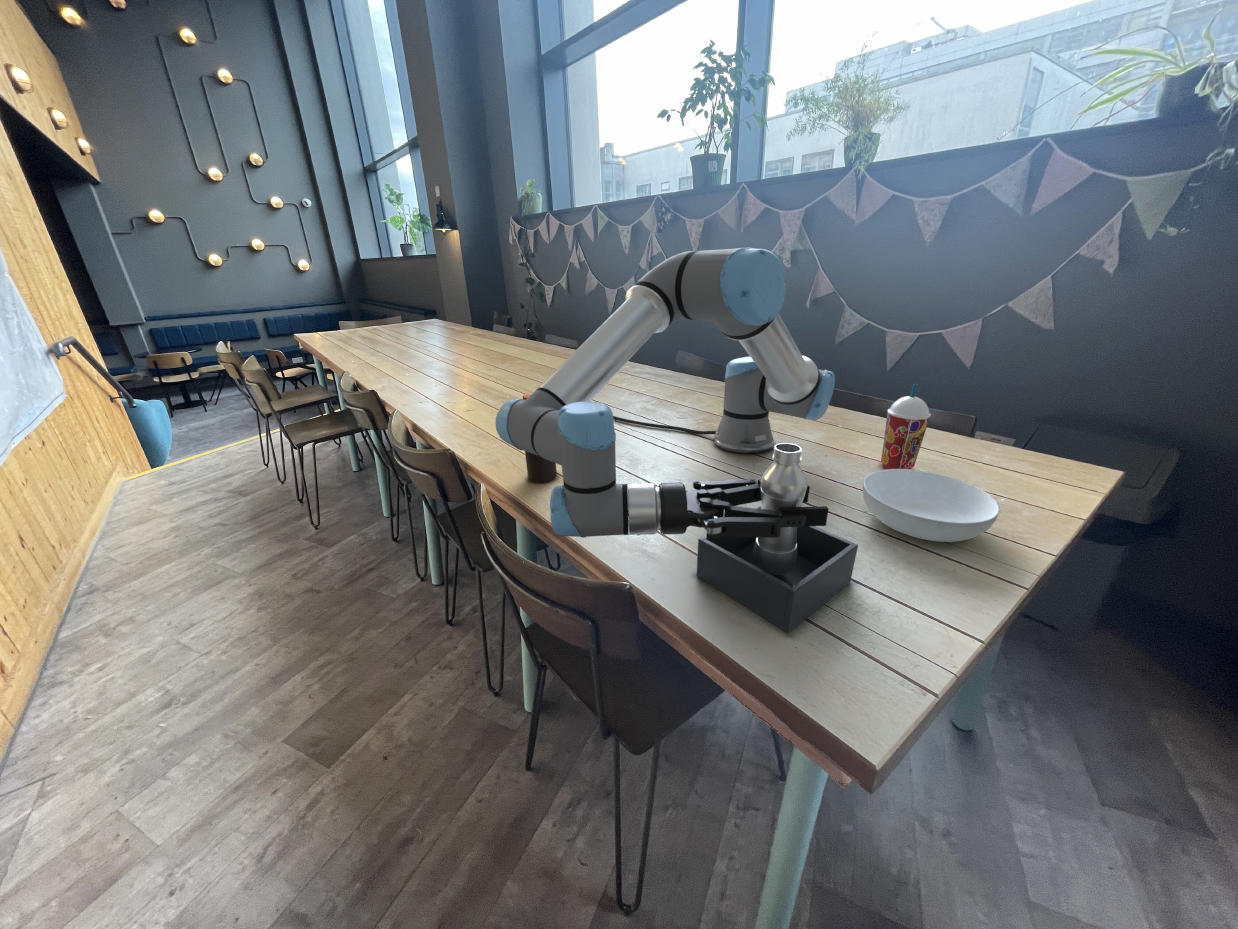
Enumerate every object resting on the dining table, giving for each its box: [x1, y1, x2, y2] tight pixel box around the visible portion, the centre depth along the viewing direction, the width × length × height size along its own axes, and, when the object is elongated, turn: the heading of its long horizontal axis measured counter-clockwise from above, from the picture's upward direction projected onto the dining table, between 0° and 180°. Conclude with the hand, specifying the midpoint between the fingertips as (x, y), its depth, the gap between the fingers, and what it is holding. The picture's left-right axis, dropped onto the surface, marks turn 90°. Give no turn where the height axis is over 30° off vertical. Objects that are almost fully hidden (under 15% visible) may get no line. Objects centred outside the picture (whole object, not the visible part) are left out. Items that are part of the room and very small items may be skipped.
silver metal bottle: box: [753, 442, 808, 575], centre depth 69 cm, size 6×7×20 cm
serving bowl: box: [862, 468, 1001, 543], centre depth 85 cm, size 21×21×7 cm
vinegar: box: [522, 392, 558, 484], centre depth 107 cm, size 7×7×20 cm
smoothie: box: [880, 383, 932, 470], centre depth 106 cm, size 8×8×20 cm
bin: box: [696, 506, 859, 634], centre depth 72 cm, size 17×17×7 cm
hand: (816, 504), depth 68 cm, fingers closed on silver metal bottle, 6 cm apart
